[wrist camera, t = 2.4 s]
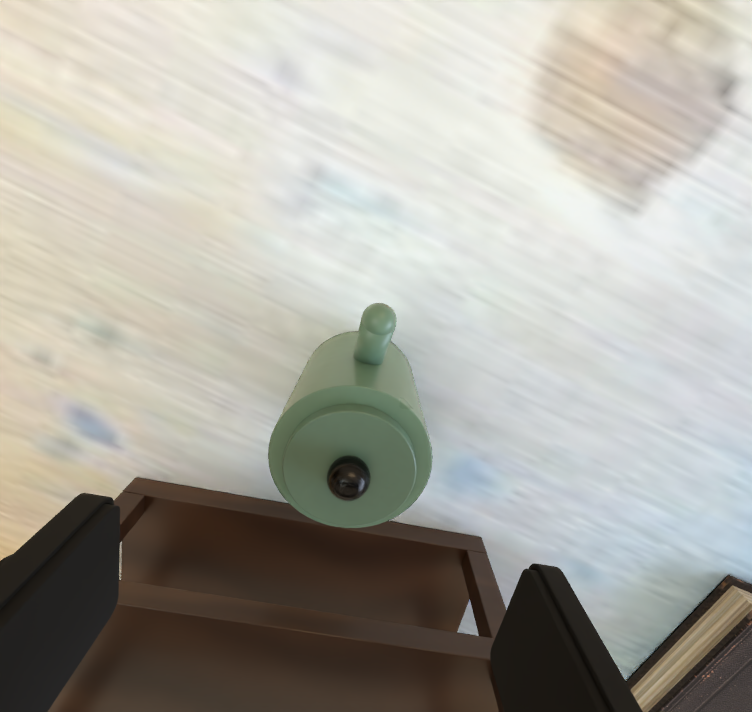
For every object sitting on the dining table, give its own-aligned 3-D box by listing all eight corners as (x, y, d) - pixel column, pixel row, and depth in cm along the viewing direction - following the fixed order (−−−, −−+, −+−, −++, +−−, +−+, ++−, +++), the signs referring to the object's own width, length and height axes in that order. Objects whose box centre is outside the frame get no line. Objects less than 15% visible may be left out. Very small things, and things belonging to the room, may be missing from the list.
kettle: (321, 270, 18) (278, 302, 10) (437, 295, 19) (487, 346, 10) (296, 422, 21) (244, 549, 12) (399, 441, 21) (415, 577, 13)
